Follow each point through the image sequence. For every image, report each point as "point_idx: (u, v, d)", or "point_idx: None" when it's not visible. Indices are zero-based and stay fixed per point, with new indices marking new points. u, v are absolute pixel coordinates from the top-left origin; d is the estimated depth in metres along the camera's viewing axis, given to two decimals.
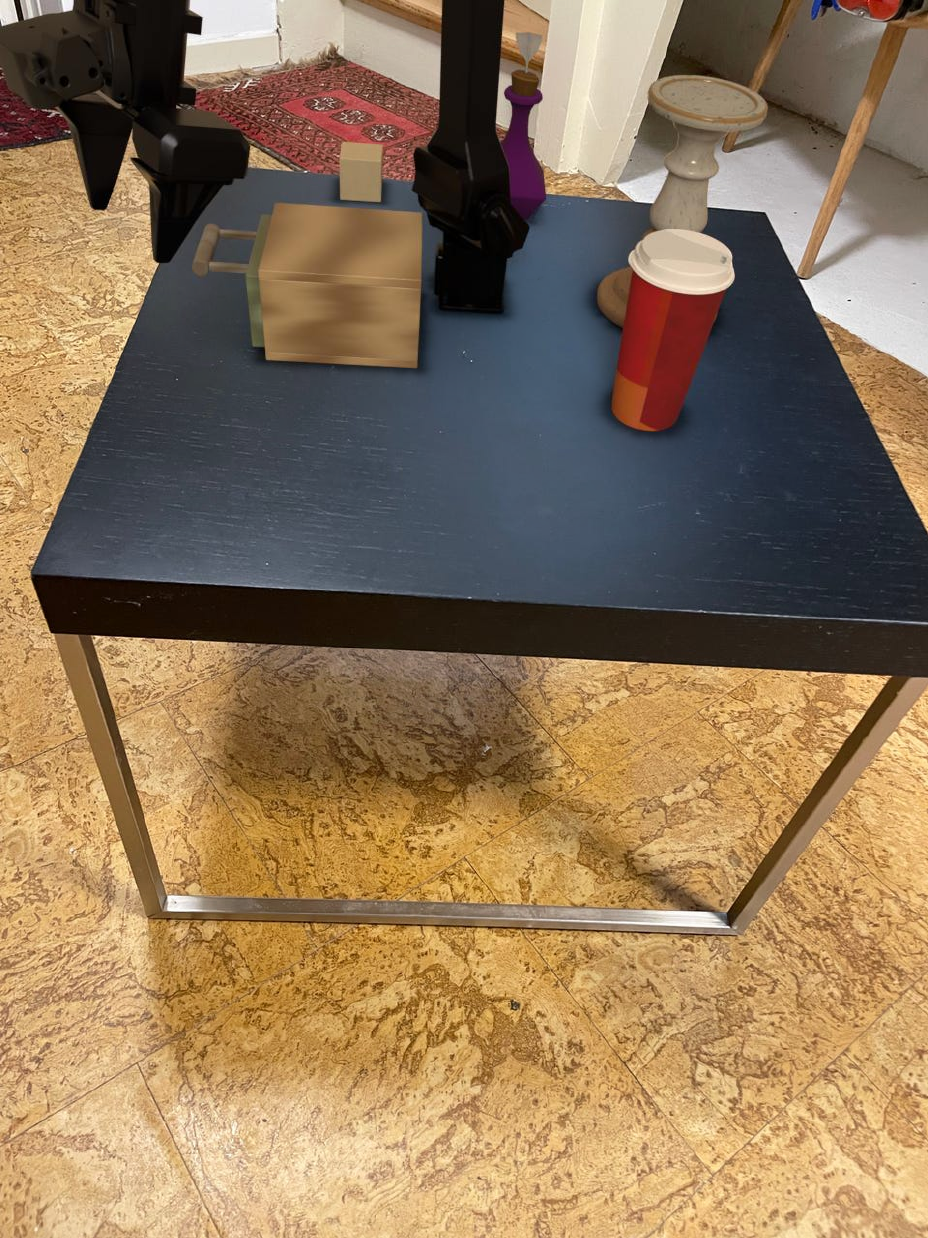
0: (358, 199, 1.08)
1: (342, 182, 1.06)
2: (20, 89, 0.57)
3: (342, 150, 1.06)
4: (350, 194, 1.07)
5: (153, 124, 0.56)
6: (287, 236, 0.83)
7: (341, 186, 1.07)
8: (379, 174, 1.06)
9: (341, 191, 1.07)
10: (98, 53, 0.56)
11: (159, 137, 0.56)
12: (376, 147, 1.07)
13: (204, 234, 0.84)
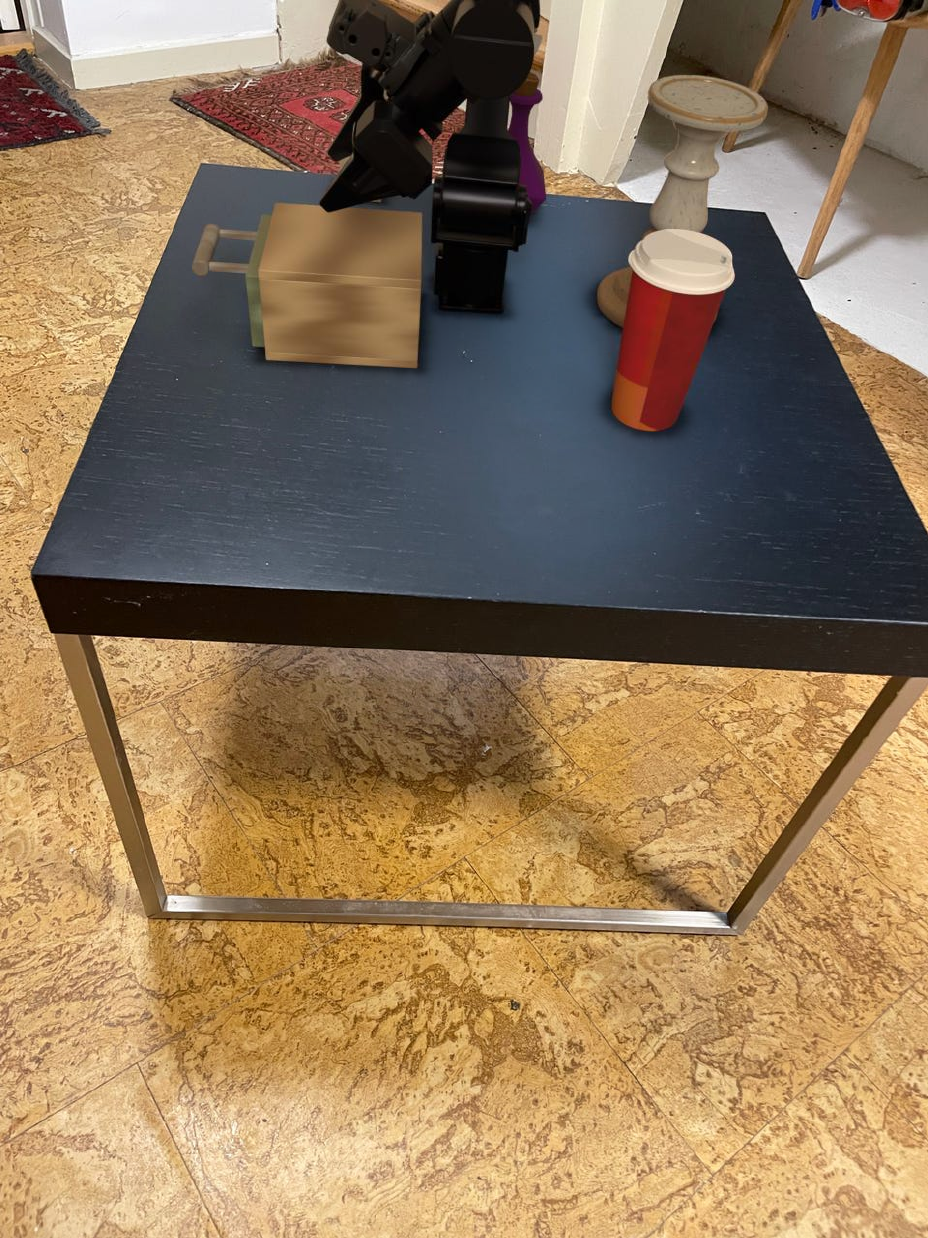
0: None
1: None
2: (330, 26, 0.70)
3: None
4: None
5: (380, 110, 0.69)
6: (287, 236, 0.83)
7: None
8: None
9: None
10: (392, 47, 0.69)
11: (374, 118, 0.68)
12: None
13: (204, 234, 0.84)
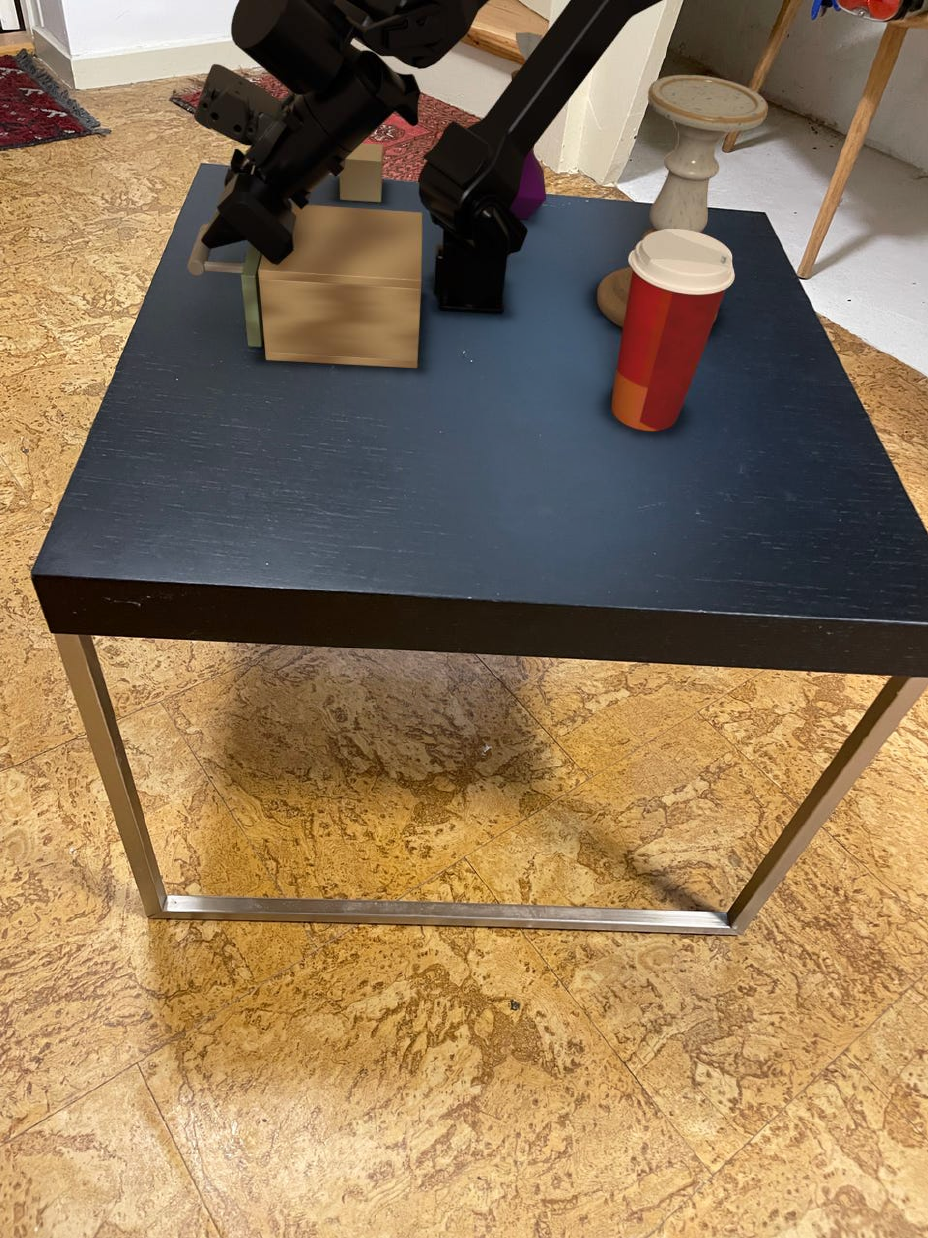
0: (358, 199, 1.08)
1: (342, 182, 1.06)
2: None
3: None
4: (350, 194, 1.07)
5: (241, 183, 0.73)
6: None
7: (341, 186, 1.07)
8: (379, 174, 1.06)
9: (341, 191, 1.07)
10: (254, 124, 0.73)
11: (234, 190, 0.72)
12: (376, 147, 1.07)
13: (200, 233, 0.84)
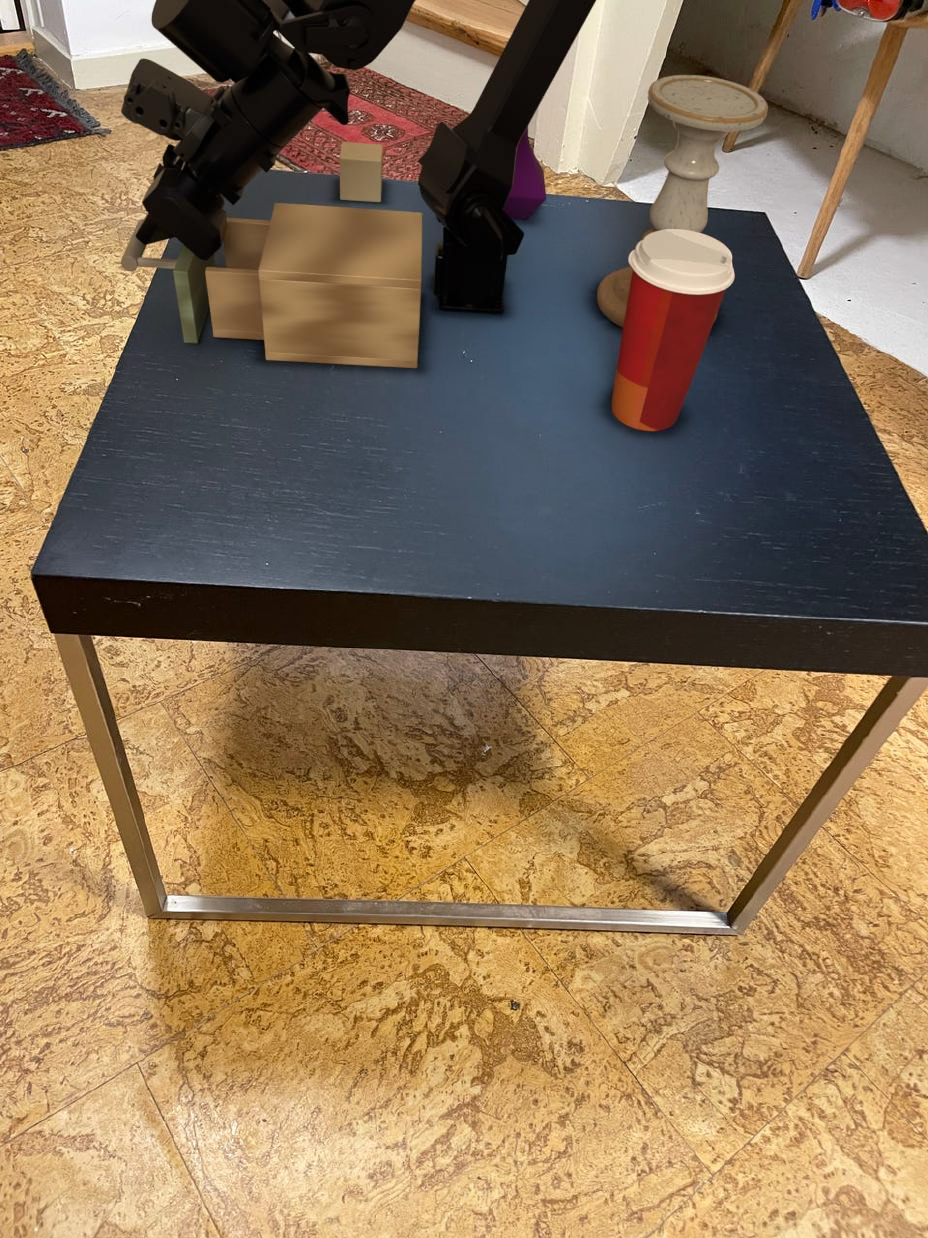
0: (358, 199, 1.08)
1: (342, 182, 1.06)
2: None
3: (342, 150, 1.06)
4: (350, 194, 1.07)
5: (167, 178, 0.72)
6: (287, 236, 0.83)
7: (341, 186, 1.07)
8: (379, 174, 1.06)
9: (341, 191, 1.07)
10: (181, 119, 0.73)
11: (158, 185, 0.71)
12: (376, 147, 1.07)
13: (136, 229, 0.84)
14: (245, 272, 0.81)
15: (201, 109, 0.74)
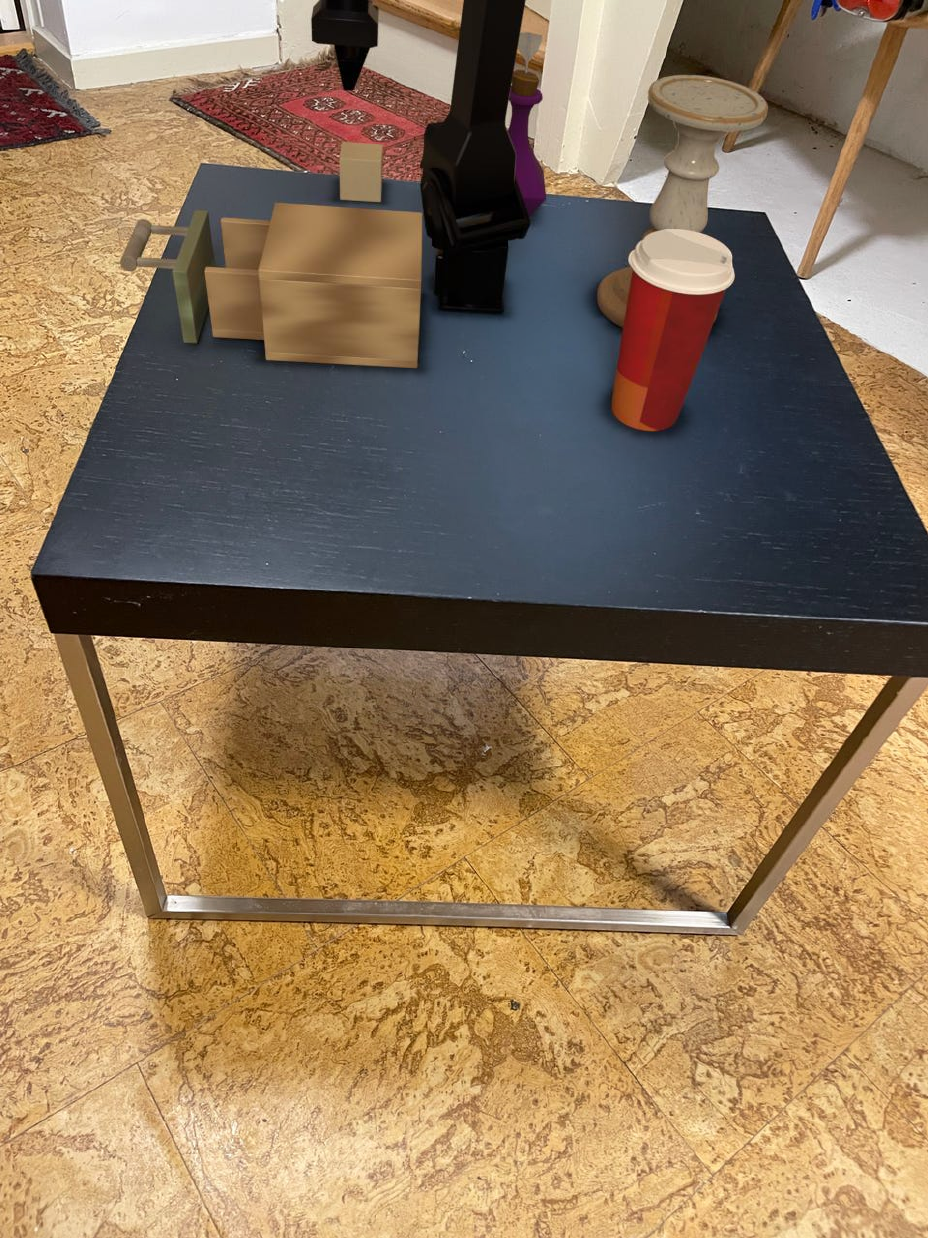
0: (358, 199, 1.08)
1: (342, 182, 1.06)
2: None
3: (342, 150, 1.06)
4: (350, 194, 1.07)
5: (316, 8, 0.89)
6: (287, 236, 0.83)
7: (341, 186, 1.07)
8: (379, 174, 1.06)
9: (341, 191, 1.07)
10: None
11: (312, 17, 0.88)
12: (376, 147, 1.07)
13: (135, 229, 0.84)
14: (244, 272, 0.81)
15: None
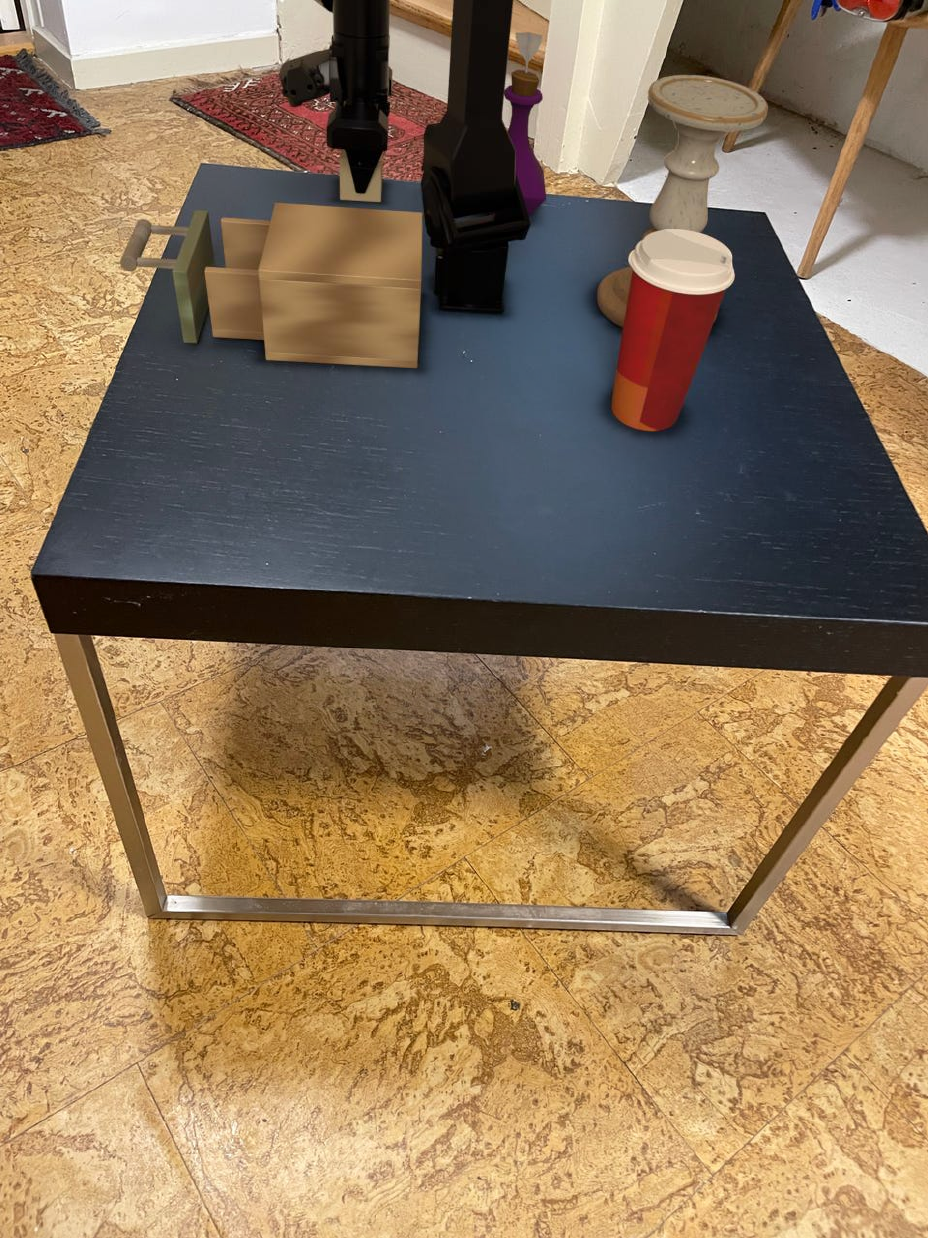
0: (358, 199, 1.08)
1: (342, 182, 1.06)
2: None
3: (342, 150, 1.06)
4: (350, 194, 1.07)
5: (331, 117, 0.97)
6: (287, 236, 0.83)
7: (341, 186, 1.07)
8: (379, 174, 1.06)
9: (341, 191, 1.07)
10: (318, 75, 0.97)
11: (327, 125, 0.96)
12: None
13: (135, 229, 0.84)
14: (244, 272, 0.81)
15: (327, 59, 0.98)
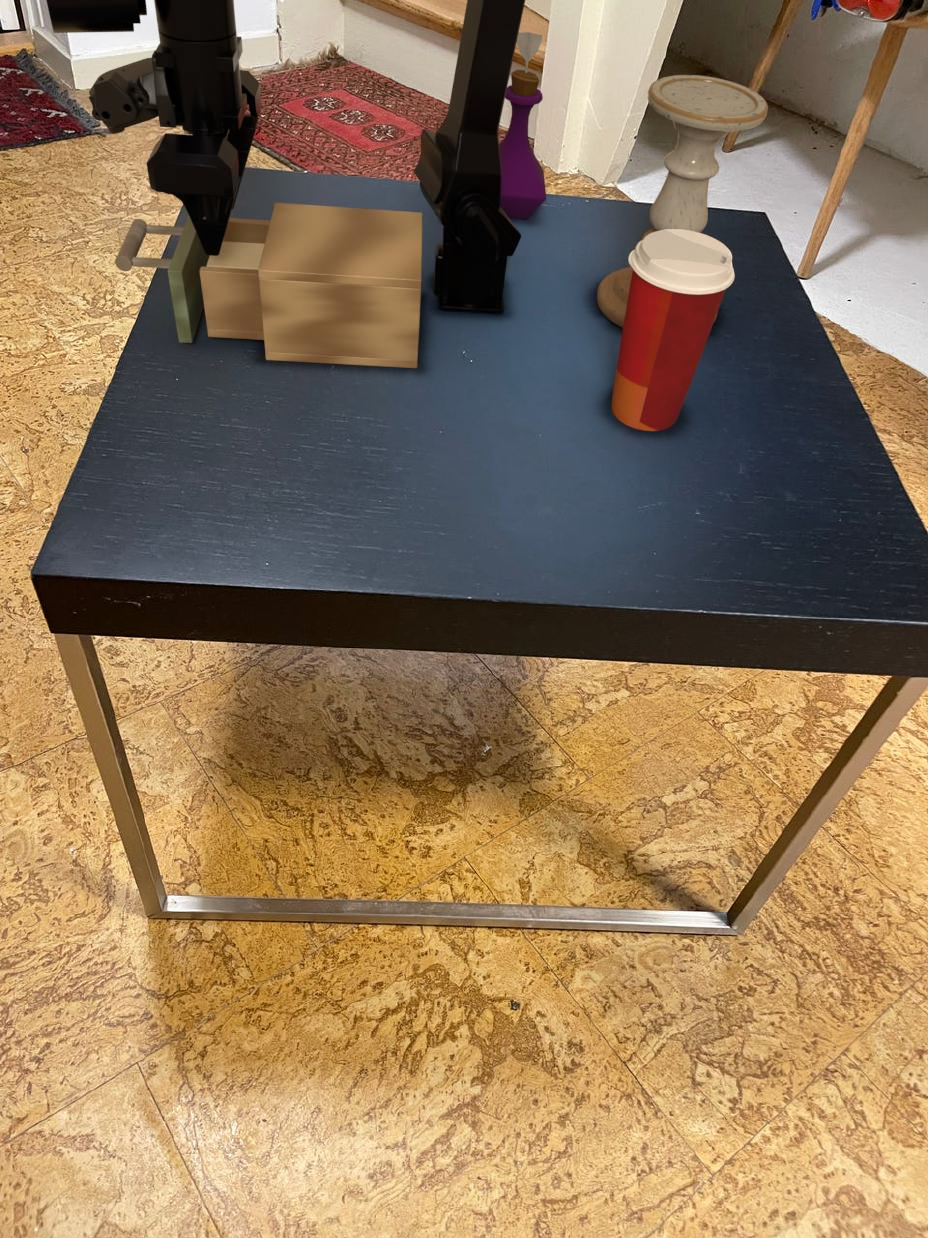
0: None
1: None
2: None
3: None
4: None
5: (154, 149, 0.71)
6: (287, 236, 0.83)
7: None
8: None
9: (217, 267, 0.83)
10: (140, 91, 0.72)
11: (148, 160, 0.70)
12: None
13: (130, 229, 0.84)
14: (239, 272, 0.81)
15: (152, 69, 0.72)
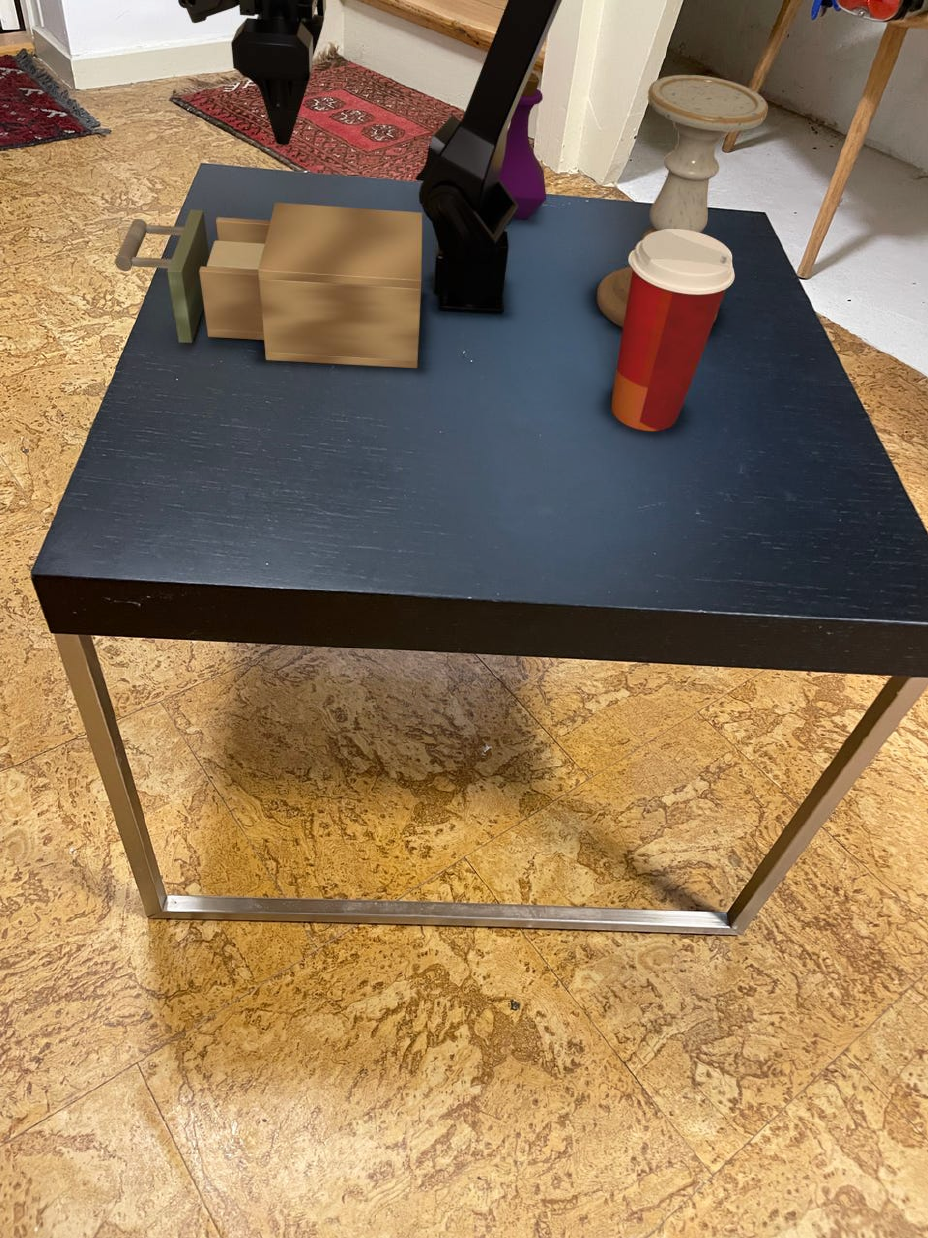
0: None
1: None
2: None
3: None
4: None
5: (238, 31, 0.77)
6: (287, 236, 0.83)
7: None
8: None
9: (217, 267, 0.83)
10: None
11: (232, 41, 0.76)
12: None
13: (130, 229, 0.84)
14: (239, 272, 0.81)
15: None
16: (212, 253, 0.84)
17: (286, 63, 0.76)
